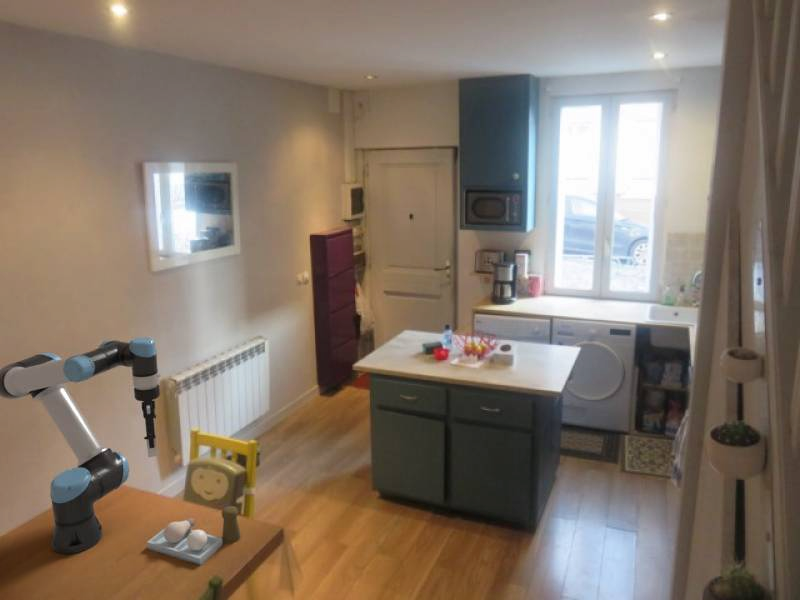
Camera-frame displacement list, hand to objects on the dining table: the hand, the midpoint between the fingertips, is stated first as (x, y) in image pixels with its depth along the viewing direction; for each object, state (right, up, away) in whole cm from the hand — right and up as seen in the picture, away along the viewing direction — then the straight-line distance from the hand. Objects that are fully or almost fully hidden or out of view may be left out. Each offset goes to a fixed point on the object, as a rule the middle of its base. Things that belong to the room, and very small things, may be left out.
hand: (152, 446), depth 203 cm
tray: (+11, -33, 0) cm, 35 cm away
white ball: (+16, -32, -2) cm, 36 cm away
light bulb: (+9, -30, +3) cm, 32 cm away
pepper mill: (+25, -32, +5) cm, 41 cm away
